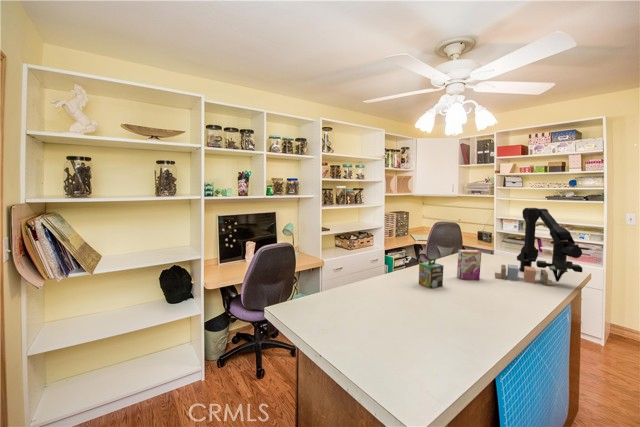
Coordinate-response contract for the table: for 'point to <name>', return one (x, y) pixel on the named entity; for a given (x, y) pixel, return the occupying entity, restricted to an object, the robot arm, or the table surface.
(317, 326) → the table surface
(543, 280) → the bookend slide
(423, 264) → the chalk box
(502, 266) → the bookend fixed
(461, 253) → the candy bar box
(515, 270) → the blue book
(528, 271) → the rust book
